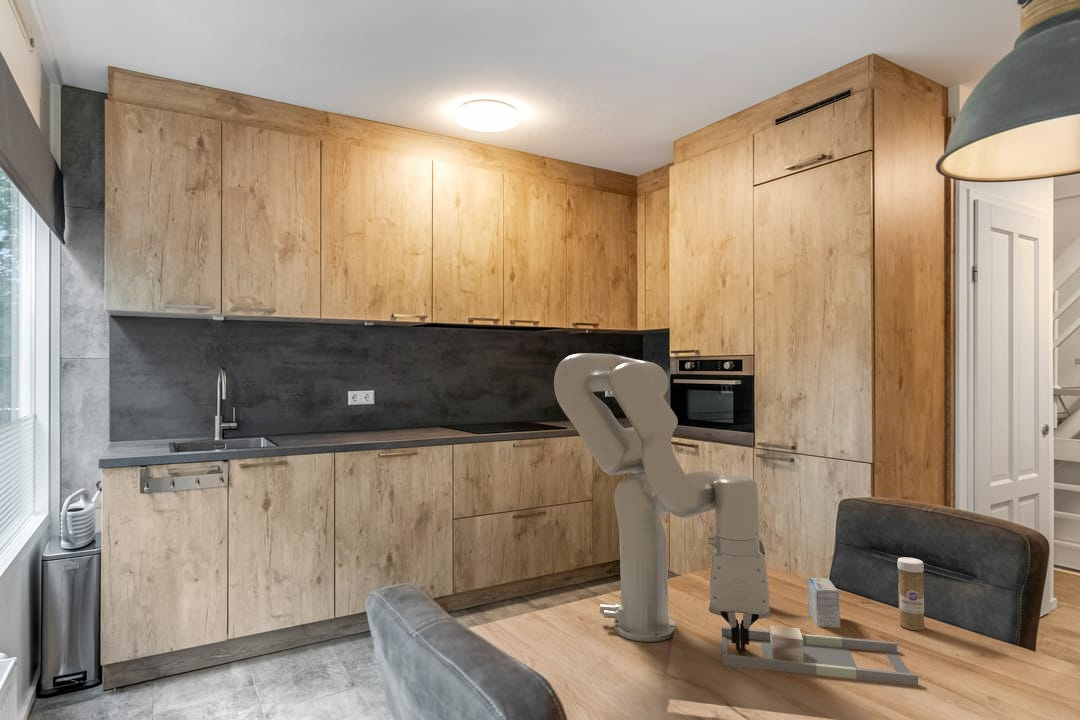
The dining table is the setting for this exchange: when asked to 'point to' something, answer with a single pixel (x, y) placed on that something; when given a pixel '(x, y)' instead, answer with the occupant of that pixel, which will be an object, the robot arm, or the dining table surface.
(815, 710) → the dining table surface
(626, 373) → the robot arm
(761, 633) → the track
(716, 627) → the dining table surface
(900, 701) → the dining table surface
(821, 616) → the medicine box
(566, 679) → the dining table surface
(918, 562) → the sprinkles bottle
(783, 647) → the cream block
